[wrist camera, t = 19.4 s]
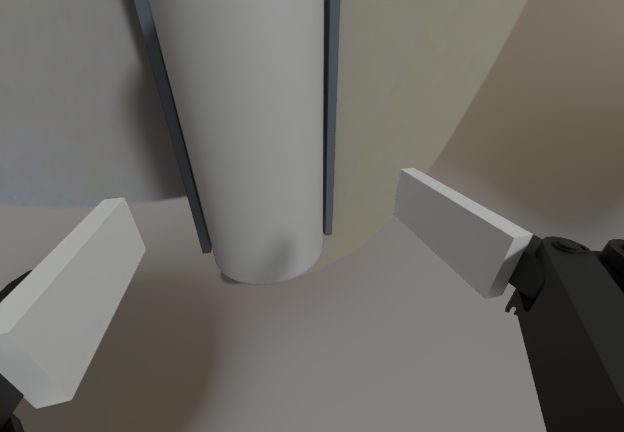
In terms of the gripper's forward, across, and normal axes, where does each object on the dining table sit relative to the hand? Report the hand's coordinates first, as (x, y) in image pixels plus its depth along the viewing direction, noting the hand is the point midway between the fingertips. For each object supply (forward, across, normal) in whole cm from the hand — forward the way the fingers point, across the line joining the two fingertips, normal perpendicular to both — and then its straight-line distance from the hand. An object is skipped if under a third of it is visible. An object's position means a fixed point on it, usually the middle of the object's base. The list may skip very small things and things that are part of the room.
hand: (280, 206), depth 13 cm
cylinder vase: (+14, 0, -13) cm, 19 cm away
